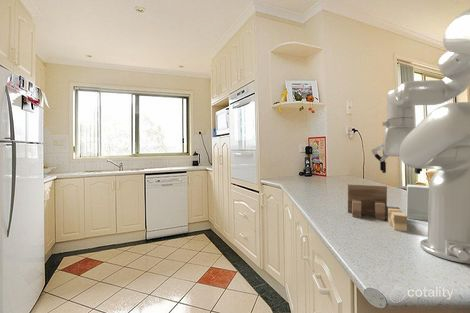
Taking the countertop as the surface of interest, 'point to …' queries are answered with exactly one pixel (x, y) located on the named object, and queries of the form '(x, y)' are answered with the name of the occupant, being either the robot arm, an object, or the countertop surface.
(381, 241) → the countertop surface
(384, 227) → the countertop surface
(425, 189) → the supplement box
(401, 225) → the light wooden block
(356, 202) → the wooden stand
